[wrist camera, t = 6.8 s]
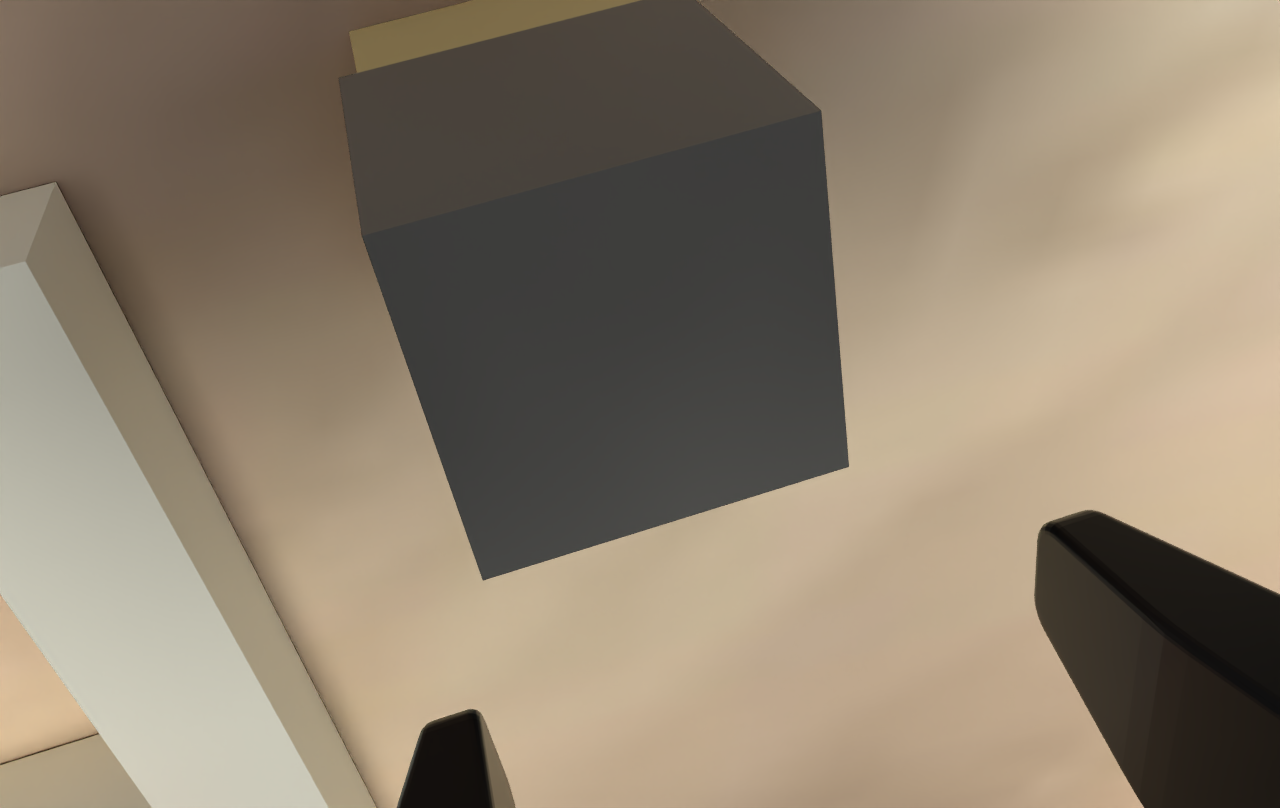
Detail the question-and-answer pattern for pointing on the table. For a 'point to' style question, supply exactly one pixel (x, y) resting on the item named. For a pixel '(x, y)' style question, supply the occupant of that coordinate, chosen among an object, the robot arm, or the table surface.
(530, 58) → the plug
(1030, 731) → the table surface
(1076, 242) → the table surface
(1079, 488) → the table surface
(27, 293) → the socket plate
